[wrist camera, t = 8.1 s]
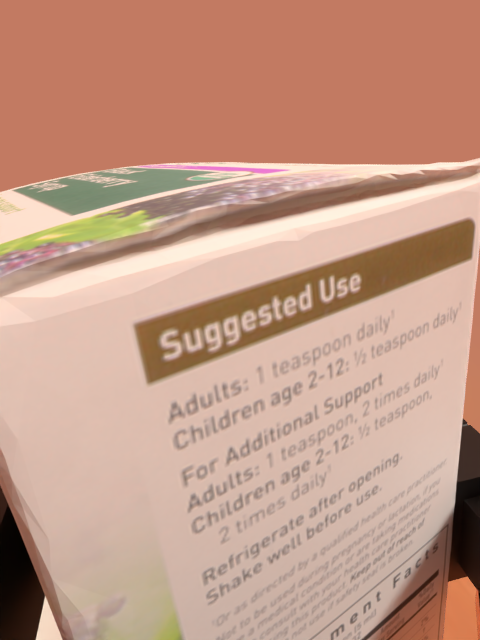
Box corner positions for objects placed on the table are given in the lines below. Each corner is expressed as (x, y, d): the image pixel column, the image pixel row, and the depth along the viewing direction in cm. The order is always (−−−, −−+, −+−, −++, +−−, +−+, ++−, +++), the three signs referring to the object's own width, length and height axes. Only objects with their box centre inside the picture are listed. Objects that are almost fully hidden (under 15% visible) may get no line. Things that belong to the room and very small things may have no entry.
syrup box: (122, 733, 13) (-96, 202, 7) (290, 606, 15) (235, 146, 10) (228, 1055, 8) (-153, 284, 2) (441, 795, 11) (510, 134, 5)
